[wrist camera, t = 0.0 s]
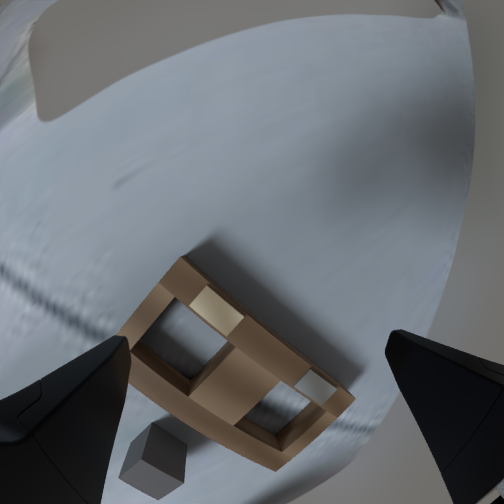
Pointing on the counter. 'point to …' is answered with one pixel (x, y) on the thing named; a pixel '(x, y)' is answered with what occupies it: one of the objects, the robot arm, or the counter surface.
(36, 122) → the counter surface
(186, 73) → the counter surface
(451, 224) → the counter surface
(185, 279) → the socket bar
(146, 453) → the plug
